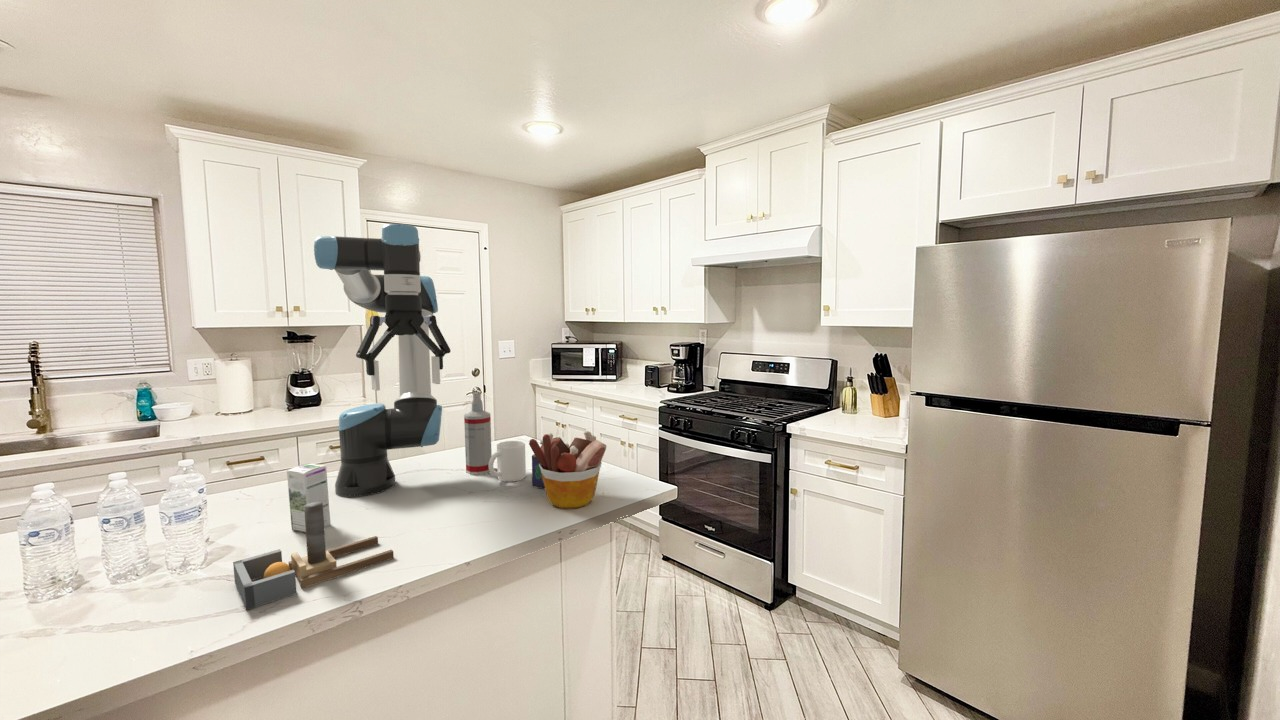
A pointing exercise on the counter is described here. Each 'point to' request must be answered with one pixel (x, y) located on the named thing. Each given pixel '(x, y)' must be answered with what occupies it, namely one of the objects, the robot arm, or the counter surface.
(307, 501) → the syrup box
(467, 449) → the spray bottle
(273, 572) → the ball
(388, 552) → the rails
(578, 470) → the bucket of meat
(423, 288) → the robot arm
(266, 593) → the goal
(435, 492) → the counter surface
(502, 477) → the mug
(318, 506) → the carriage
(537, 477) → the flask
